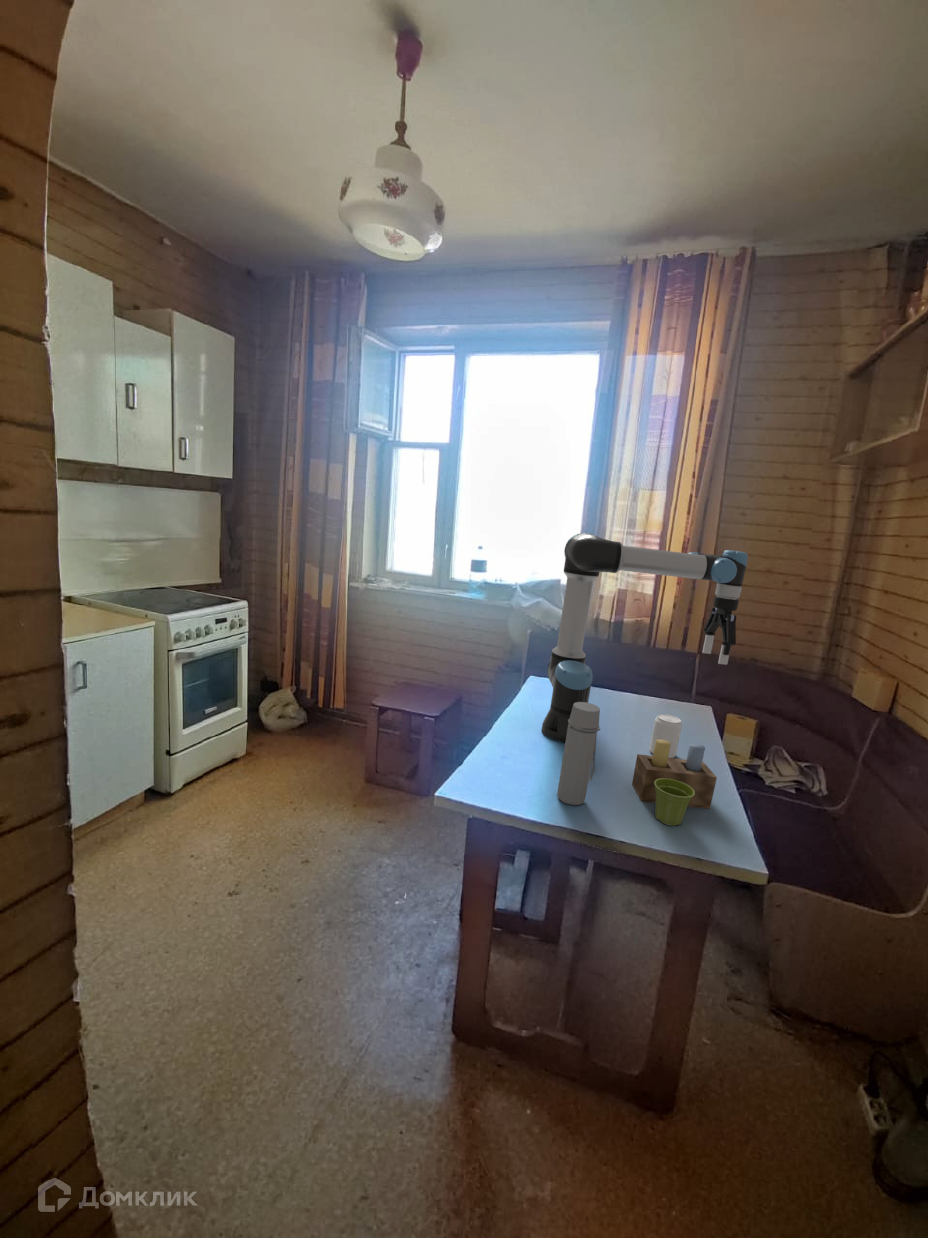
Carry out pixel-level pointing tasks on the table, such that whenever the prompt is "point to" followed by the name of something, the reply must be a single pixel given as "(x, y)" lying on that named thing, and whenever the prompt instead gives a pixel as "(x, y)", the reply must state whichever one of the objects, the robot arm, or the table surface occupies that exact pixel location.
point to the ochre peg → (660, 753)
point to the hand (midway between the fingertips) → (714, 658)
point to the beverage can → (666, 732)
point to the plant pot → (671, 800)
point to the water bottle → (579, 753)
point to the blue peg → (694, 757)
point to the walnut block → (674, 770)
